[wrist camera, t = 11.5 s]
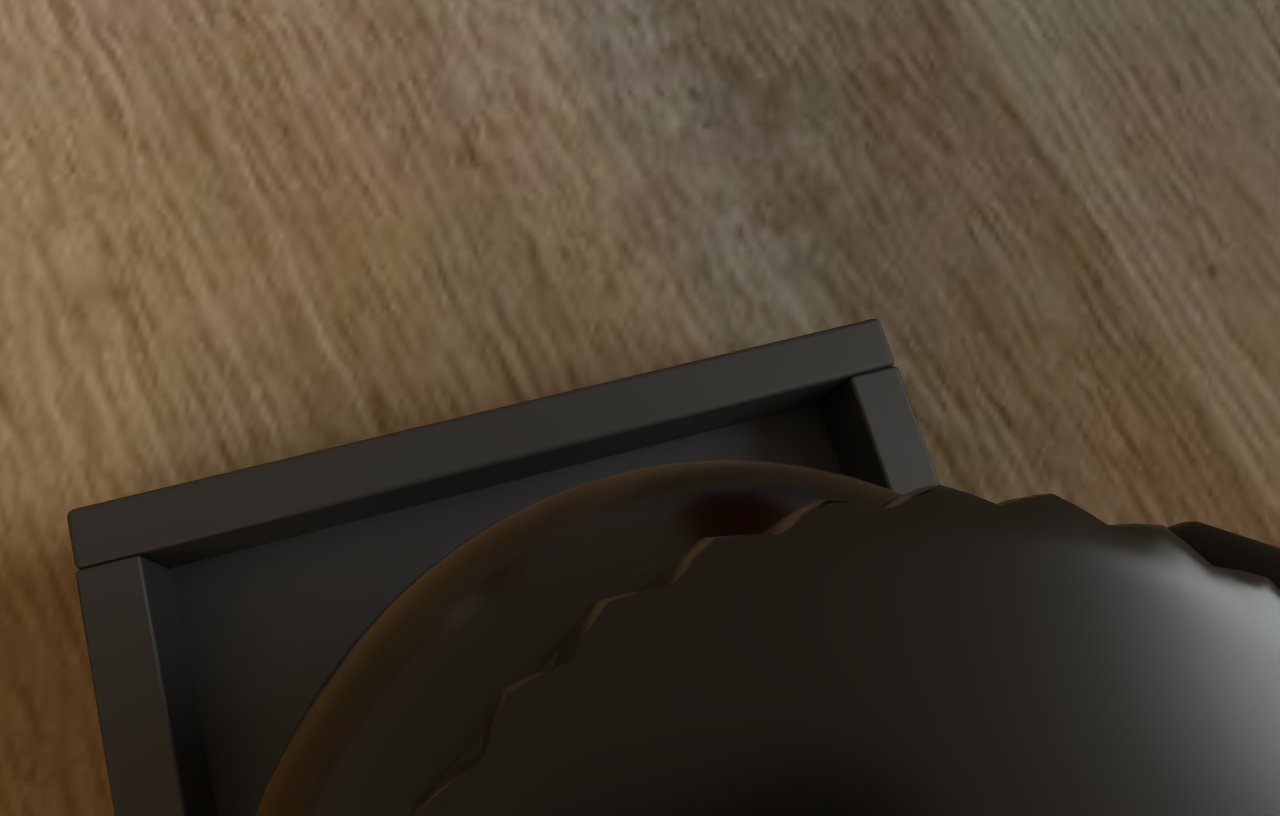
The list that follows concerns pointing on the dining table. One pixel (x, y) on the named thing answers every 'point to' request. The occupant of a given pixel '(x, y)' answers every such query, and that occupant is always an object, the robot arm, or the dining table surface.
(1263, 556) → the robot arm
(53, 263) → the dining table surface
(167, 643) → the black tray
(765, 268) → the dining table surface
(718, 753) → the supplement bottle
